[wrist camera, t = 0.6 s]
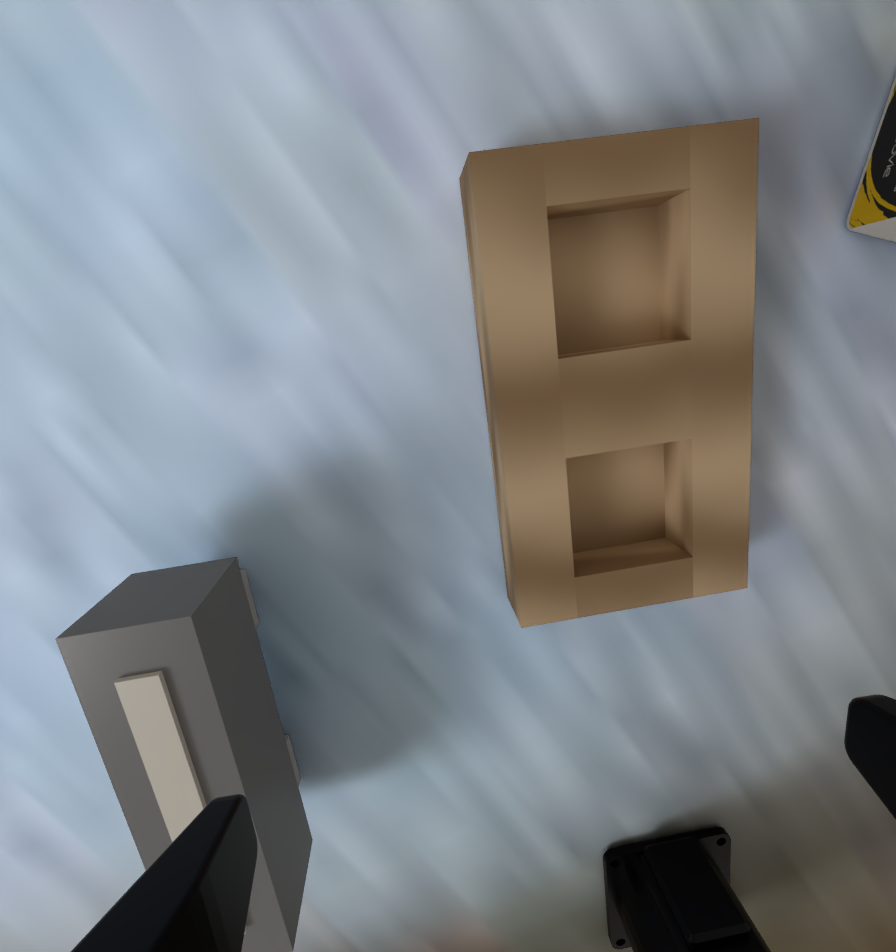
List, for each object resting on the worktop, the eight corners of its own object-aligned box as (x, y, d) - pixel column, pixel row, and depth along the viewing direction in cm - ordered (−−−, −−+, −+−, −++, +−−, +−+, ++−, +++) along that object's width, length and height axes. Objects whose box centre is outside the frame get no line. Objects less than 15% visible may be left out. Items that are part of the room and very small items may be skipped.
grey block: (319, 798, 23) (291, 958, 17) (240, 813, 23) (183, 980, 17) (252, 536, 19) (187, 620, 13) (158, 551, 19) (50, 643, 13)
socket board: (710, 562, 22) (747, 588, 19) (507, 597, 21) (521, 627, 19) (711, 147, 18) (759, 117, 15) (459, 178, 17) (469, 152, 15)
